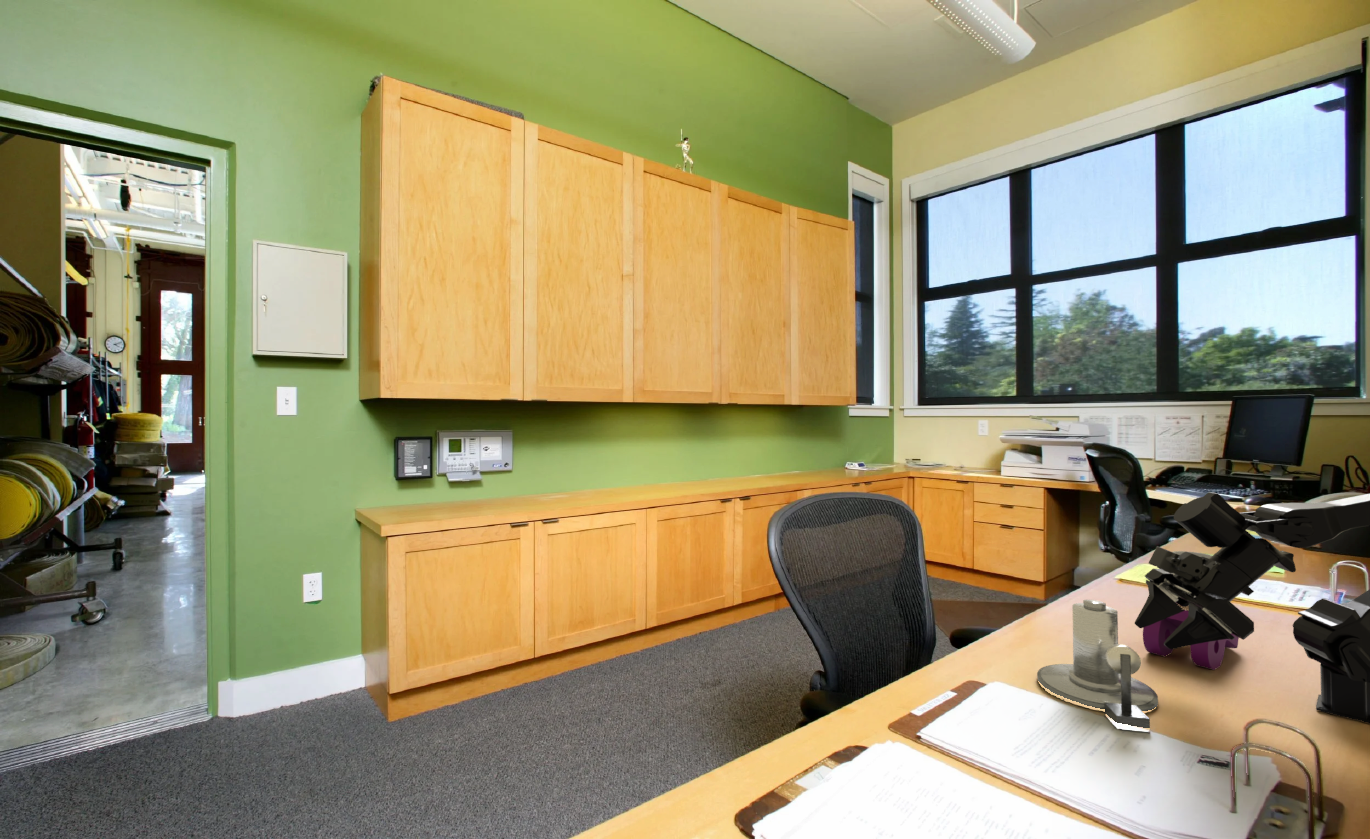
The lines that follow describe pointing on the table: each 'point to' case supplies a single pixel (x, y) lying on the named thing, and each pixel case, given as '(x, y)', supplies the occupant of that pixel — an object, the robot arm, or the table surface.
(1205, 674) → the table surface
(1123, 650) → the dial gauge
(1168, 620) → the mounting bracket
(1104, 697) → the disc
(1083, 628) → the silver metal cylinder
